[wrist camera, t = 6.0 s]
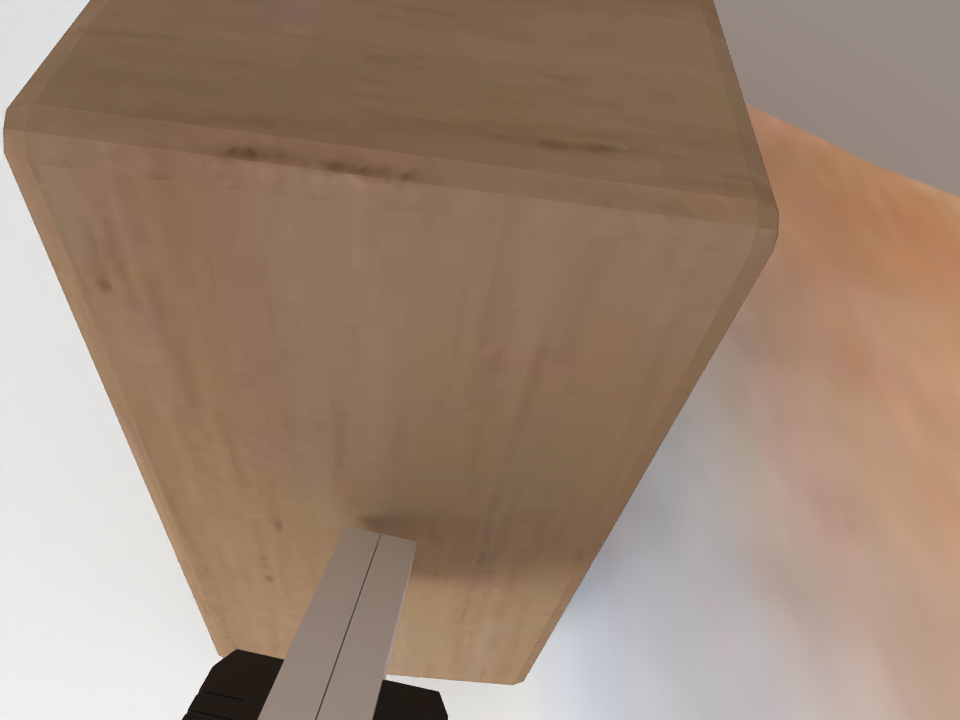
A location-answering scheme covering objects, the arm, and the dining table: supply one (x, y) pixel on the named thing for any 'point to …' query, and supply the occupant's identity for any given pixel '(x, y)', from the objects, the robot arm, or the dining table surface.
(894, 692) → the dining table surface
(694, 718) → the dining table surface
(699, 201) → the wooden block
